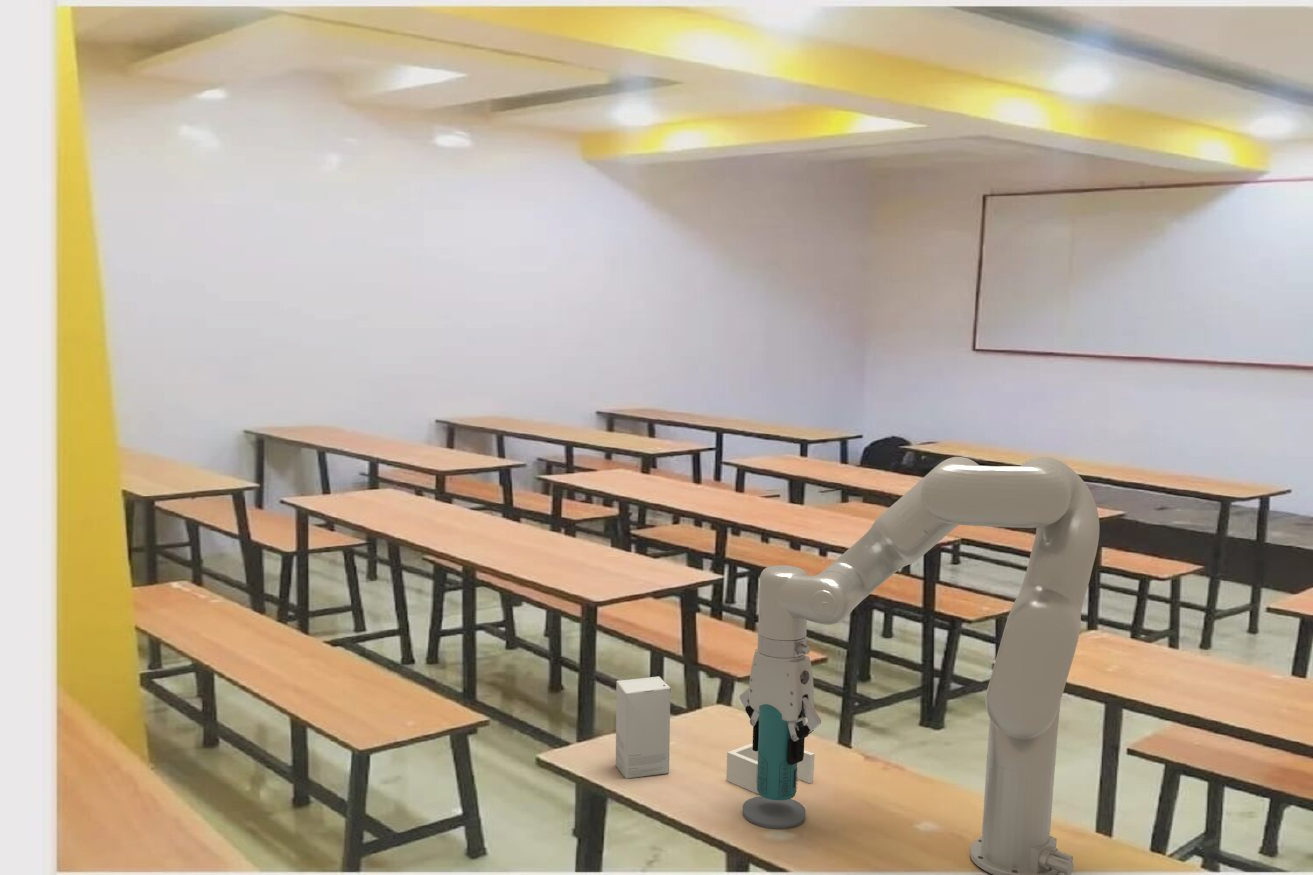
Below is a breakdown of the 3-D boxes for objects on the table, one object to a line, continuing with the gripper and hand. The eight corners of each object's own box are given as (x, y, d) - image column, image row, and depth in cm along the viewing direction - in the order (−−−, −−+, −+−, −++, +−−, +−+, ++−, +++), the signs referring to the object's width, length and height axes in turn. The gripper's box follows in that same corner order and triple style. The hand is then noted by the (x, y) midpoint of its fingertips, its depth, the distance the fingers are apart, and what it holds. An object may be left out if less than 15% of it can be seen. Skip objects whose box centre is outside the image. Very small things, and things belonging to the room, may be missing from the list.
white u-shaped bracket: (813, 781, 199) (814, 753, 198) (771, 799, 191) (772, 770, 190) (768, 763, 206) (769, 736, 205) (726, 780, 198) (727, 752, 198)
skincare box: (658, 760, 206) (661, 675, 204) (670, 775, 200) (673, 687, 198) (613, 765, 203) (615, 678, 201) (623, 780, 197) (626, 691, 195)
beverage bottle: (798, 810, 182) (803, 686, 179) (756, 809, 182) (760, 685, 180) (794, 793, 188) (799, 673, 186) (753, 791, 188) (757, 672, 186)
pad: (818, 816, 185) (818, 810, 185) (777, 834, 178) (777, 828, 178) (770, 795, 192) (770, 790, 192) (729, 813, 185) (729, 807, 185)
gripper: (840, 653, 178) (836, 765, 181) (755, 629, 191) (752, 734, 193) (810, 663, 173) (805, 778, 175) (724, 637, 186) (721, 745, 188)
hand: (777, 754), depth 184 cm, fingers closed on beverage bottle, 6 cm apart
